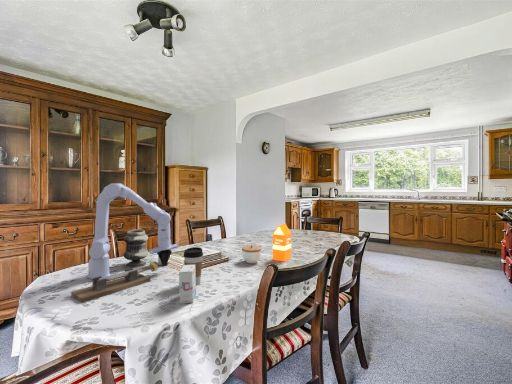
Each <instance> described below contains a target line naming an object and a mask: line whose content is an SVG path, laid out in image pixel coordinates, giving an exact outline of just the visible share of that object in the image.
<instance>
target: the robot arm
mask: <svg viewBox="0 0 512 384" xmlns="http://www.w3.org/2000/svg"><path fill="white" fill-rule="evenodd" d="M117 198H125V199H129V200H130V201H132V202H134V203H135V204H137V205H138V206H139V207H141V208H142V209H143V213H145V214H146V215H147V216H149V217H150V218H151V219H153V220H155V221H156V223H157V226H158V227H157V246H156V247H153V248H150V249H149V250H148V255H149V254H150V255H154V254H157V257H158V256H159V258H160V260H161V264H162V265H161V266H162V267H167V266H168V264H167V262H168V259H169V256H170V255H171V256H172V250H174V249H176V250H177V249H179V244H177V243H173V244H172V243H171V245H170V241H171V223H170V222H171V218H172V217H171V214H170V213H168V212H166V210H164V209H162V208H160V207H159V206H157V205H158V203H156V202H147V201H146V200H145V199H144V198H143V197H141V196H140V195H139V194H138V193H136V192H135V191H134V190H132V189H131V188H130V187H128V186H125V185H124V184H123V183H120V182H118V183H117V182H116V183H113V182H112V183H108V185H106V186H105V187H103V189H102V191H101V192H100V194H99V195H98V197H97V198H96V207H95V226H94V238H93V240H92V243H91V246H90V248H89V250H88V254H89V257H90V258H89V260H88V262H87V263H88V264H87V265H88V267H87V268H88V270H87V271H88V274H87V275H86V276H85V277H87V278H89V279H90V280H92V278H95V277H99V276H101V277H102V278H103V277H107V276H110V275H113V273H110V255H109V252H110V251H111V244H110V242H109V240H110V238H109V237H108V233H109V232H108V230H109V219H110V218H109V216H110V215H109V214H110V203H111V202H113V201H114V200H115V199H117ZM170 250H171V251H170Z"/></svg>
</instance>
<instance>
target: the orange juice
mask: <svg viewBox="0 0 512 384" xmlns="http://www.w3.org/2000/svg"><path fill="white" fill-rule="evenodd" d="M289 259H292V232H291V231H290V228H288V226H287V223H283V224H278V226H277V227H276V229H275V230H274V232H273V233H272V260H274V261H278V262H279V261H281V262H286V261H288V260H289Z"/></svg>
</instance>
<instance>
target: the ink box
mask: <svg viewBox="0 0 512 384" xmlns="http://www.w3.org/2000/svg"><path fill="white" fill-rule="evenodd" d="M178 281H179V304H190V303H191V304H192V303H194V300H195V298H196V295H197V289H196V288H197V287H196V286H197V285H196V273H195V265H185V264H183V265H182V267H181V269H180V270H179V272H178Z"/></svg>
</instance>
